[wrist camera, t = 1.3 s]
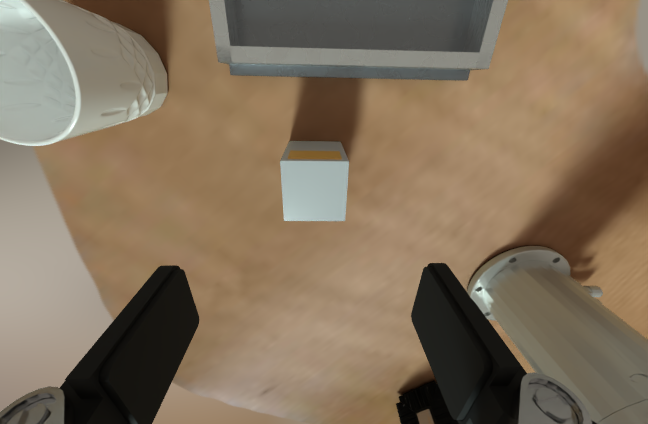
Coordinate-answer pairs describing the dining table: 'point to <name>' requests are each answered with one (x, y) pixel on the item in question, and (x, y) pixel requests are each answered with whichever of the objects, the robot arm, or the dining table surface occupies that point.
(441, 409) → the cpu cooler
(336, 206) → the block
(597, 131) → the dining table surface
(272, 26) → the rail
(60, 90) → the white cup
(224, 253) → the dining table surface
